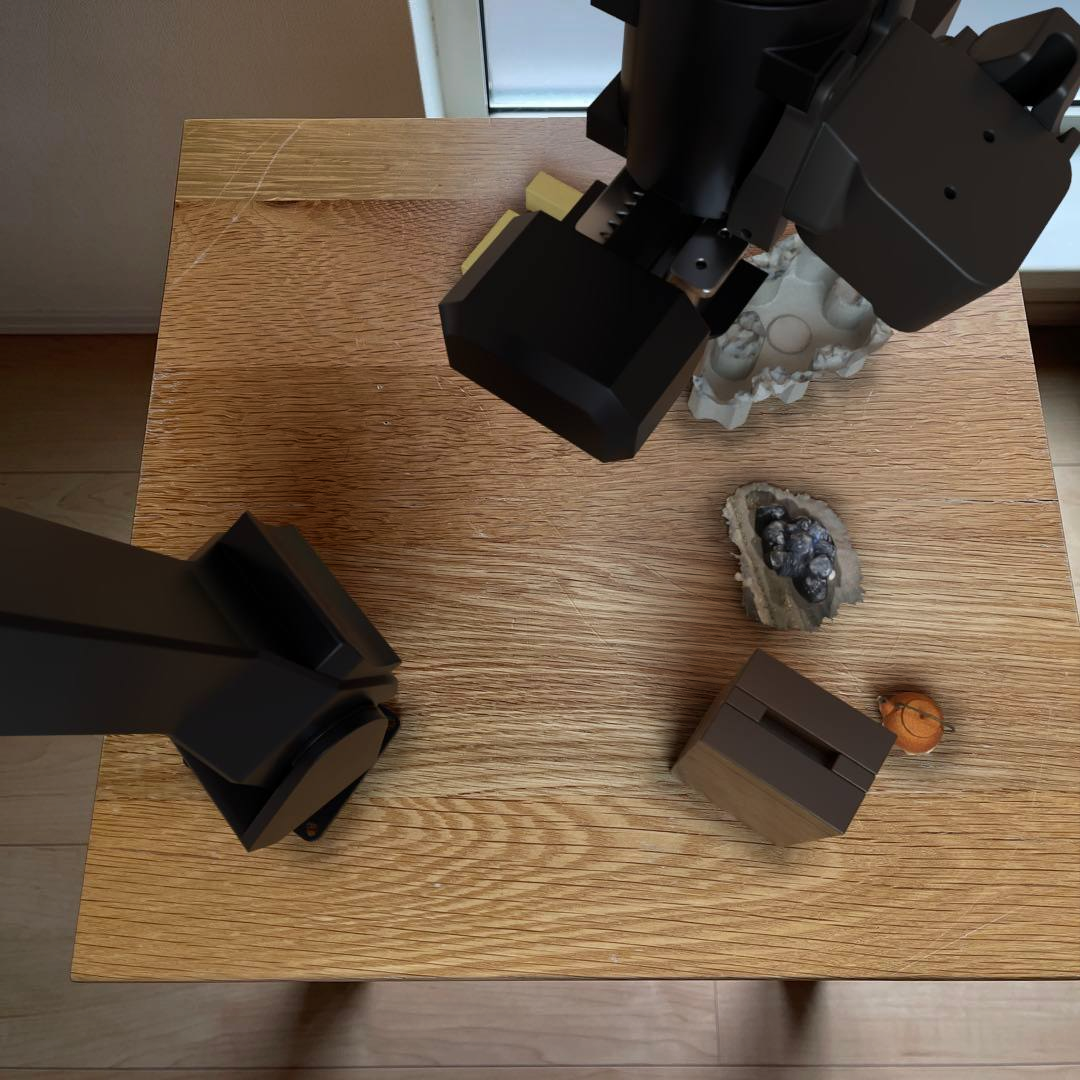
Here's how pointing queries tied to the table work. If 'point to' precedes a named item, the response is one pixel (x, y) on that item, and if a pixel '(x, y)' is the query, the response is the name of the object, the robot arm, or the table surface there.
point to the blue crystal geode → (791, 557)
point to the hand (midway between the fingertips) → (680, 322)
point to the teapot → (913, 722)
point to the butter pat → (551, 196)
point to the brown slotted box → (783, 754)
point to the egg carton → (786, 336)
